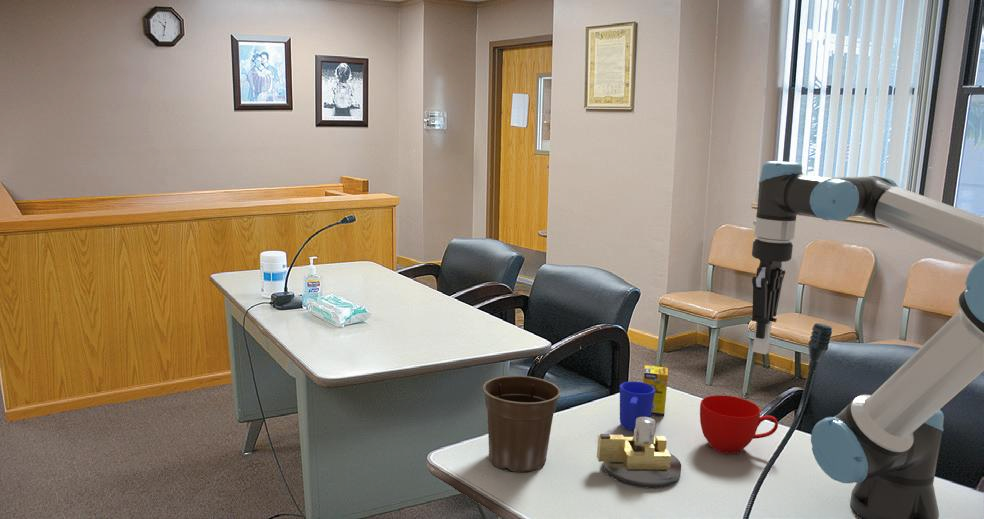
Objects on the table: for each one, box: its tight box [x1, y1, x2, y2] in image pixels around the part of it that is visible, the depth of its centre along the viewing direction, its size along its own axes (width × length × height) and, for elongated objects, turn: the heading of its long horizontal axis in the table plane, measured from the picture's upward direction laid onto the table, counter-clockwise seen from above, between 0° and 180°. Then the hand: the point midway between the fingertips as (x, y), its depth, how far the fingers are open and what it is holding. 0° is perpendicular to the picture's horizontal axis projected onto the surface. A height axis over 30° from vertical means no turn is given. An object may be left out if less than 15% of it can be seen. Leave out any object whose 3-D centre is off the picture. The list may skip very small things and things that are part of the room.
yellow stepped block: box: [596, 429, 671, 470], centre depth 163 cm, size 14×9×5 cm, turn 94°
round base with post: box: [602, 417, 682, 489], centre depth 163 cm, size 16×16×11 cm
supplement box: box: [642, 365, 669, 417], centre depth 195 cm, size 6×6×11 cm
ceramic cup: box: [699, 394, 779, 455], centre depth 175 cm, size 13×17×10 cm
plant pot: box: [482, 375, 562, 473], centre depth 165 cm, size 16×16×16 cm
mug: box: [619, 380, 655, 432], centre depth 183 cm, size 8×12×10 cm
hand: (760, 352), depth 160 cm, fingers closed
